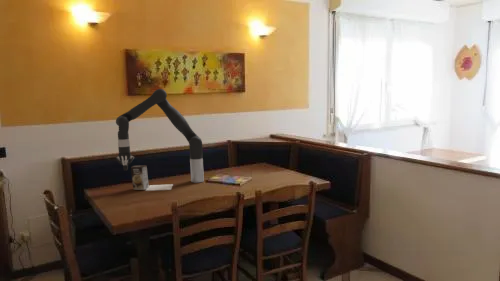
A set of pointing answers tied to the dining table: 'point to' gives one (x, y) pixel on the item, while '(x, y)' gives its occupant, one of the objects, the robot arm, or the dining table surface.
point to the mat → (159, 187)
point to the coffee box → (139, 177)
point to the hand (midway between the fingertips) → (125, 170)
